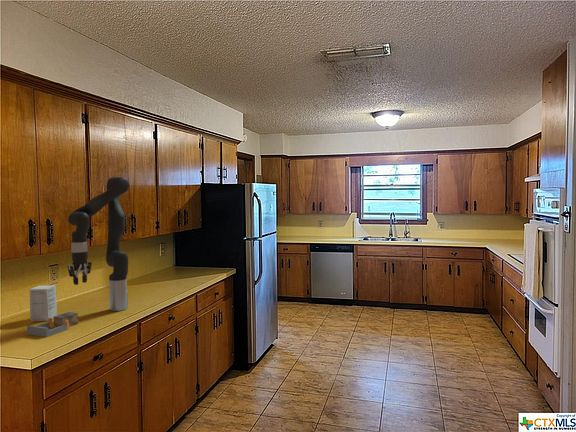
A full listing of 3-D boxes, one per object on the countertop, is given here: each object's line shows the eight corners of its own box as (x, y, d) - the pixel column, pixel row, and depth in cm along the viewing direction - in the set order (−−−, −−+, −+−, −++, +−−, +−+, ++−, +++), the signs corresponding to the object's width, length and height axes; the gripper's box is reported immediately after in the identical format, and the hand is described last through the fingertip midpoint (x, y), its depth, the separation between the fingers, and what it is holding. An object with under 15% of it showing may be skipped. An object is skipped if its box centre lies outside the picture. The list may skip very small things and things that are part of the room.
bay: (49, 326, 210) (49, 317, 210) (69, 329, 206) (68, 320, 206) (27, 334, 198) (26, 325, 198) (46, 337, 194) (46, 327, 194)
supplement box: (57, 316, 228) (56, 285, 228) (48, 321, 219) (47, 288, 218) (39, 316, 228) (38, 285, 227) (29, 321, 219) (28, 289, 218)
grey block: (69, 322, 217) (69, 311, 217) (78, 324, 215) (77, 313, 214) (53, 327, 208) (53, 316, 208) (62, 329, 206) (62, 317, 206)
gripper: (84, 248, 227) (85, 280, 228) (62, 252, 213) (63, 285, 214) (95, 249, 224) (96, 281, 225) (74, 252, 211) (74, 286, 212)
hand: (80, 283), depth 220 cm, fingers open, 5 cm apart
